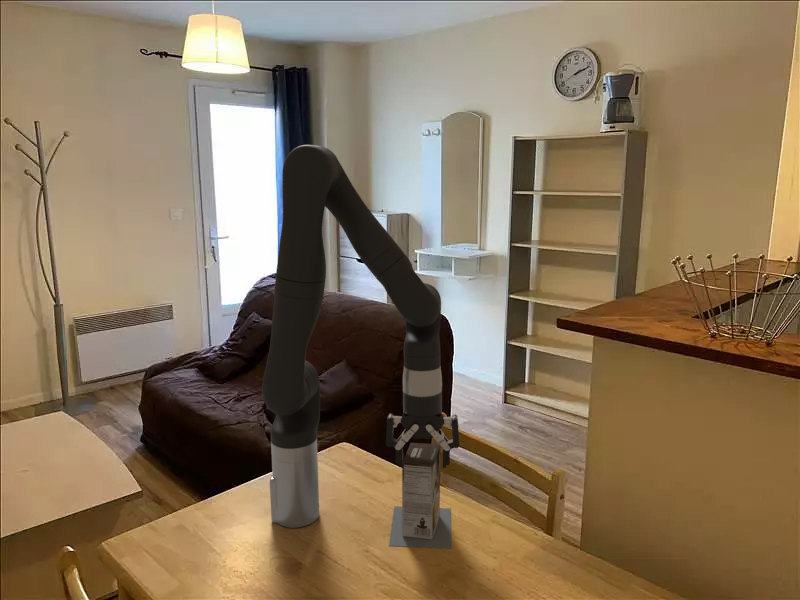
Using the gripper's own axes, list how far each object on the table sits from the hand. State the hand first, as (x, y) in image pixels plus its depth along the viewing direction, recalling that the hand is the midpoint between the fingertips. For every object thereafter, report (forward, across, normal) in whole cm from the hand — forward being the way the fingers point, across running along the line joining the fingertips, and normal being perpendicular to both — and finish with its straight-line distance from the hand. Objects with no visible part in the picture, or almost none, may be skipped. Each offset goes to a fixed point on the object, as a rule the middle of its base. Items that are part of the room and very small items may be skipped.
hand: (422, 465), depth 121 cm
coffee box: (+14, 0, 0) cm, 14 cm away
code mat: (+13, 0, 0) cm, 13 cm away
